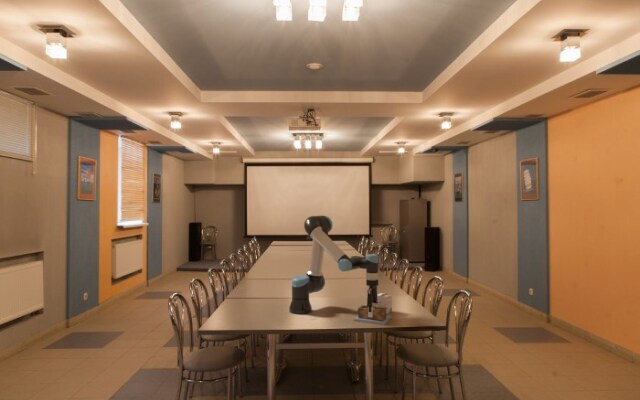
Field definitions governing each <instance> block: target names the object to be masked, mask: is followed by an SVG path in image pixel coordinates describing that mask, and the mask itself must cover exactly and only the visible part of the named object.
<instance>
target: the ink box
mask: <svg viewBox="0 0 640 400" xmlns="http://www.w3.org/2000/svg"><path fill="white" fill-rule="evenodd" d="M388 293H389V291H387V292H384V293H382V292H380V293H377V300H378V301H377V302H378V303H376V307H384V308H386V315H388V314H390V313H392V311H393V295H392V294H388Z"/></svg>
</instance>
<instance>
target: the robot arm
mask: <svg viewBox="0 0 640 400" xmlns="http://www.w3.org/2000/svg"><path fill="white" fill-rule="evenodd" d="M303 229H304V231H305V232H306V234H307V235H308V237H310V238H311V239H312V243H311V250H310V251H311V253H310V259H309V267H308V270H307V271H306V272H305V274H301V275H300V274H298V275H296V276H294V277H292V279H291V301H290V304H289V309H288V310H289V311H288V312H289V313H291V314H295V315H305V314H310V313H312V311H313V309H312V308H313V307H312V305H311V301H310V294H313V293H317V292H320V291H322V290H323V289H324V288H325V284H326V280H325V277H324V273H323V272H322V267H323V262H324V260H323V259H324V252H325V251H326V253H327V254H329V256H330V257H331V258H332V259H333V260H334V261H335V262H337V265H338V269H339V270H340V271H341V272H349V271H354V270H357V269H362V270H366V273H365V276H366V277H365V278H366V281H365V282H366V286H367V287H368V289H367V295H366V296H367V299H366V306H367V307H368V317H373V307H372V306H374V307H376V303H378V302H377V301H378V300H377V294H378V286H379V276H380V274H379V255H377V253H375V254H374V253H368V254H366V255H365V256H358V255H352V256H351V257H349V256H348V255H347V254H346V253H345V252H344V251H343V249H341V248H340V247H339V246H338V245H337V244H336V242H334V241H333V240H332V239H331V238H330V236H329V232H331V231H332V229H333V221H332V220H331V217H329V216H328V215H311V216H308V217H307V218H306V219H305V220H304V222H303Z"/></svg>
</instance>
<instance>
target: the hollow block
mask: <svg viewBox="0 0 640 400" xmlns="http://www.w3.org/2000/svg"><path fill="white" fill-rule="evenodd" d="M372 307H373V308H375V309H373V317H368V307H367V305H365V304H364V305H360V306H359V307H357V316H358V318H366V319H375V320H384V319H385V318H386V316H387V314H386V308H384V307H374V306H372Z"/></svg>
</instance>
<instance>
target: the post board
mask: <svg viewBox="0 0 640 400" xmlns="http://www.w3.org/2000/svg"><path fill="white" fill-rule="evenodd" d="M373 309H375V308H373ZM390 320H391V316H390V315H389V316H387V315H386V318H385V319H384V320H375V319H366V318H358V315H357V316H355V317H354V318H353V321H354V322H362V323H369V324H376V325H377V324H379V325H386V324H387V323H388V322H389V321H390Z"/></svg>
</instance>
